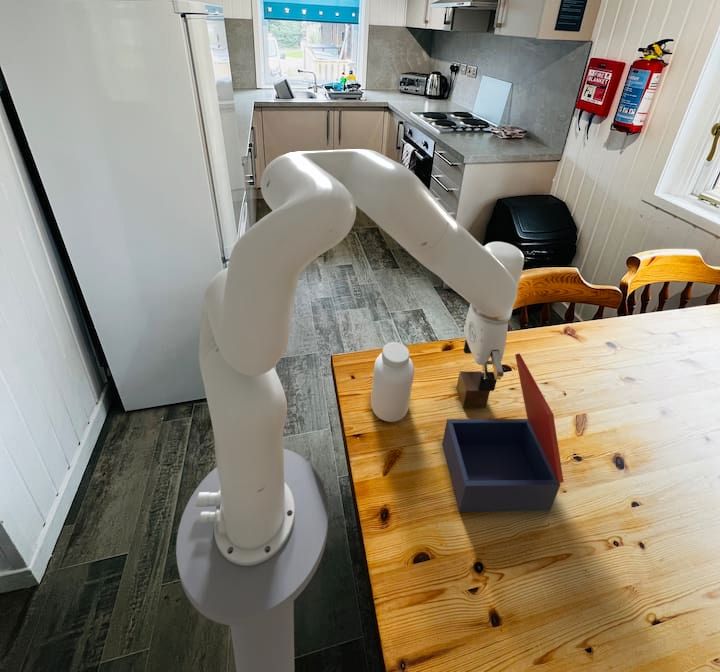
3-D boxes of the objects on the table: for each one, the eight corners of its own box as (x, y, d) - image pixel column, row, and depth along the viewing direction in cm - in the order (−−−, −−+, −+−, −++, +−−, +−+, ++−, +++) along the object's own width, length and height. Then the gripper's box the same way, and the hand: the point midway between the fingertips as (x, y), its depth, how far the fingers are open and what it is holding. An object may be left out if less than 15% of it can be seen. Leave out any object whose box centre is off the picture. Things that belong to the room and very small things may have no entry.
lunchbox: (458, 512, 65) (465, 486, 62) (442, 443, 75) (446, 418, 73) (550, 510, 66) (560, 484, 63) (520, 443, 76) (528, 418, 74)
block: (462, 408, 83) (466, 390, 81) (456, 388, 88) (459, 371, 86) (485, 408, 83) (490, 390, 81) (478, 388, 88) (482, 371, 86)
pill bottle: (381, 429, 77) (387, 372, 72) (364, 396, 84) (368, 342, 78) (415, 415, 81) (424, 360, 75) (396, 385, 87) (403, 332, 82)
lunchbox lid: (548, 415, 57) (553, 414, 57) (514, 354, 67) (519, 353, 67) (558, 483, 63) (563, 482, 63) (527, 417, 74) (531, 416, 74)
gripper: (460, 277, 84) (449, 339, 90) (488, 336, 68) (473, 407, 74) (494, 277, 84) (481, 339, 91) (531, 336, 68) (511, 406, 75)
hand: (477, 370), depth 83 cm, fingers open, 9 cm apart
